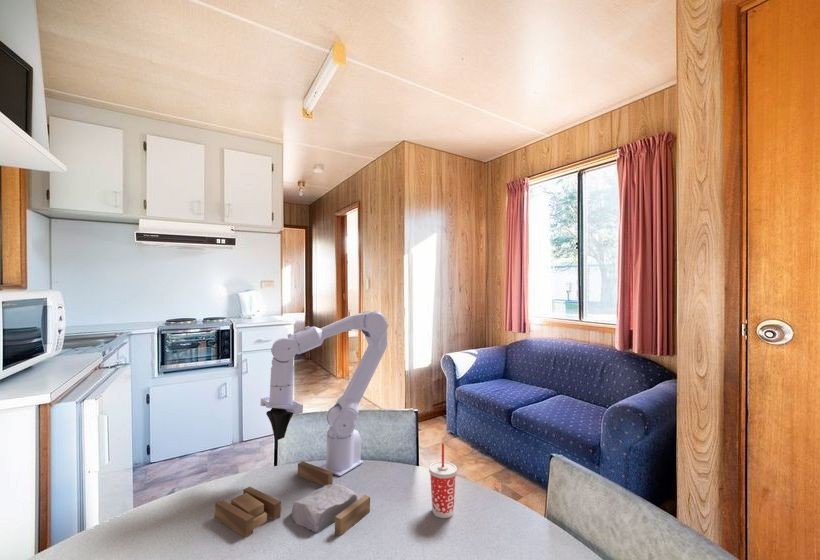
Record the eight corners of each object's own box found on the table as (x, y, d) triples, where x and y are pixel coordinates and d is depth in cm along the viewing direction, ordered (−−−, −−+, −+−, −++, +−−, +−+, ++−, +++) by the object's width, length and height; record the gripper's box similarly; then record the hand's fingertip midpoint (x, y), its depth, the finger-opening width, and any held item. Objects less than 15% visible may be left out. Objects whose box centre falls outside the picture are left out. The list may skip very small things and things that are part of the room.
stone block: (286, 527, 68) (317, 536, 62) (285, 501, 69) (315, 508, 63) (331, 503, 77) (361, 509, 72) (329, 481, 78) (359, 484, 73)
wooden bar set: (302, 473, 87) (302, 461, 87) (380, 503, 73) (380, 489, 73) (214, 518, 67) (215, 502, 68) (298, 570, 54) (299, 550, 54)
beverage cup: (436, 523, 66) (436, 451, 68) (424, 506, 72) (424, 440, 73) (462, 516, 69) (462, 446, 70) (448, 500, 74) (448, 436, 76)
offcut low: (243, 511, 71) (243, 501, 71) (266, 523, 67) (267, 513, 67) (226, 520, 68) (227, 510, 68) (250, 534, 63) (250, 523, 64)
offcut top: (245, 501, 71) (246, 492, 71) (263, 513, 67) (264, 504, 67) (230, 508, 68) (231, 499, 68) (248, 521, 64) (248, 511, 64)
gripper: (251, 383, 86) (248, 437, 85) (287, 391, 79) (284, 449, 77) (274, 379, 92) (272, 429, 91) (310, 385, 85) (308, 440, 83)
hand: (279, 438), depth 85 cm, fingers closed
